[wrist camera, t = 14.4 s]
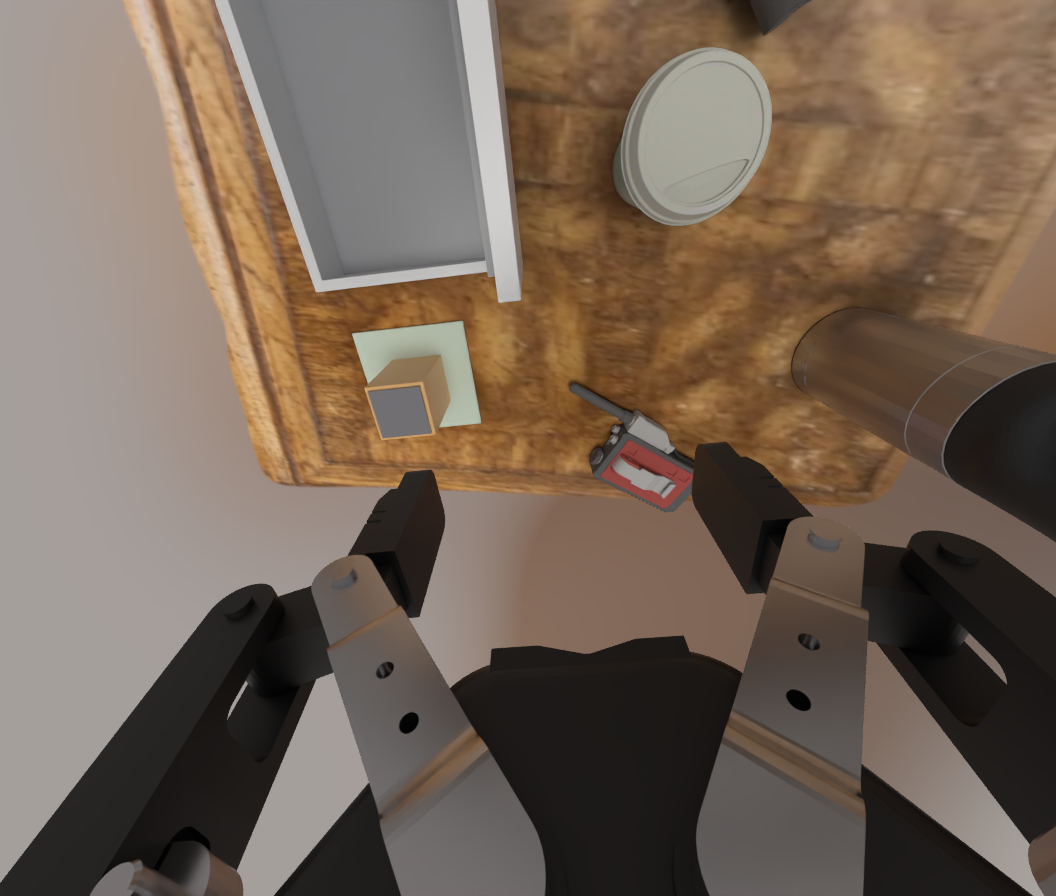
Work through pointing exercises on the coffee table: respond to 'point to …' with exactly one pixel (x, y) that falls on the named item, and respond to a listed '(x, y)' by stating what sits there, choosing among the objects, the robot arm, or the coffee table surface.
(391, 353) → the pad
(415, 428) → the block
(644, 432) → the walkie-talkie
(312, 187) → the equipment case
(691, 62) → the coffee cup
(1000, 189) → the coffee table surface
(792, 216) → the coffee table surface
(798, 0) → the bluetooth speaker
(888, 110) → the coffee table surface
